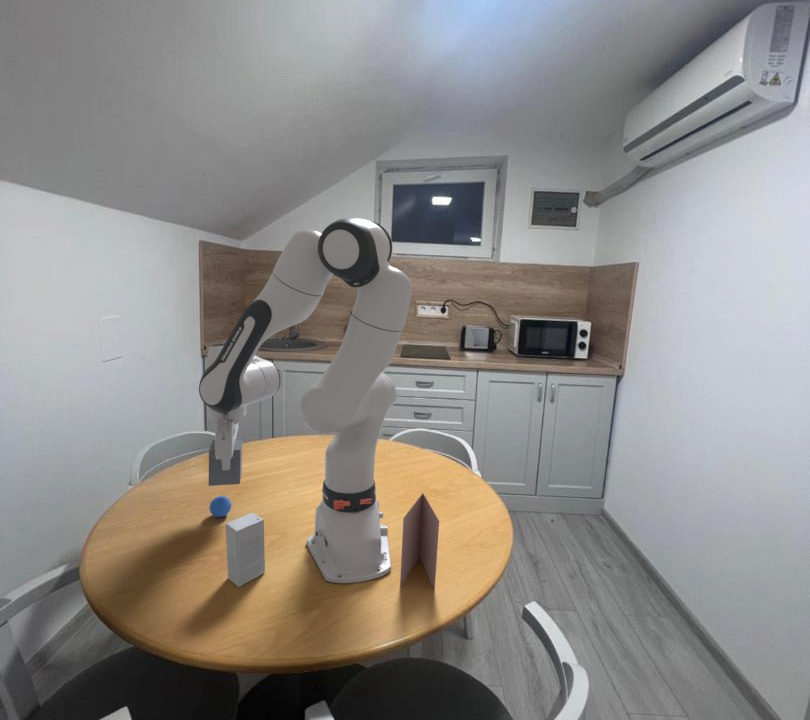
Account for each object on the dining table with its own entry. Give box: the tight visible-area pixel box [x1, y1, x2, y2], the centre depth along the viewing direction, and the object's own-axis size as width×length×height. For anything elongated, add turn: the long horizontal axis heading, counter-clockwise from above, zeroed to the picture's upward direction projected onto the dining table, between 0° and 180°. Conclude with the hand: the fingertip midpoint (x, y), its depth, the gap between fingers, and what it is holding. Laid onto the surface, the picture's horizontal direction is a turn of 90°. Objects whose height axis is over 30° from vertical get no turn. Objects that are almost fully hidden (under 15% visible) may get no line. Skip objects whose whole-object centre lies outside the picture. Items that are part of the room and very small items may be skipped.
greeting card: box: [399, 492, 440, 591], centre depth 89 cm, size 11×7×15 cm, turn 159°
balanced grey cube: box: [208, 438, 243, 487], centre depth 106 cm, size 7×7×9 cm
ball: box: [209, 495, 232, 518], centre depth 108 cm, size 5×5×5 cm
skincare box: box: [225, 512, 266, 588], centre depth 86 cm, size 6×4×12 cm
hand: (228, 461), depth 107 cm, fingers closed on balanced grey cube, 7 cm apart
